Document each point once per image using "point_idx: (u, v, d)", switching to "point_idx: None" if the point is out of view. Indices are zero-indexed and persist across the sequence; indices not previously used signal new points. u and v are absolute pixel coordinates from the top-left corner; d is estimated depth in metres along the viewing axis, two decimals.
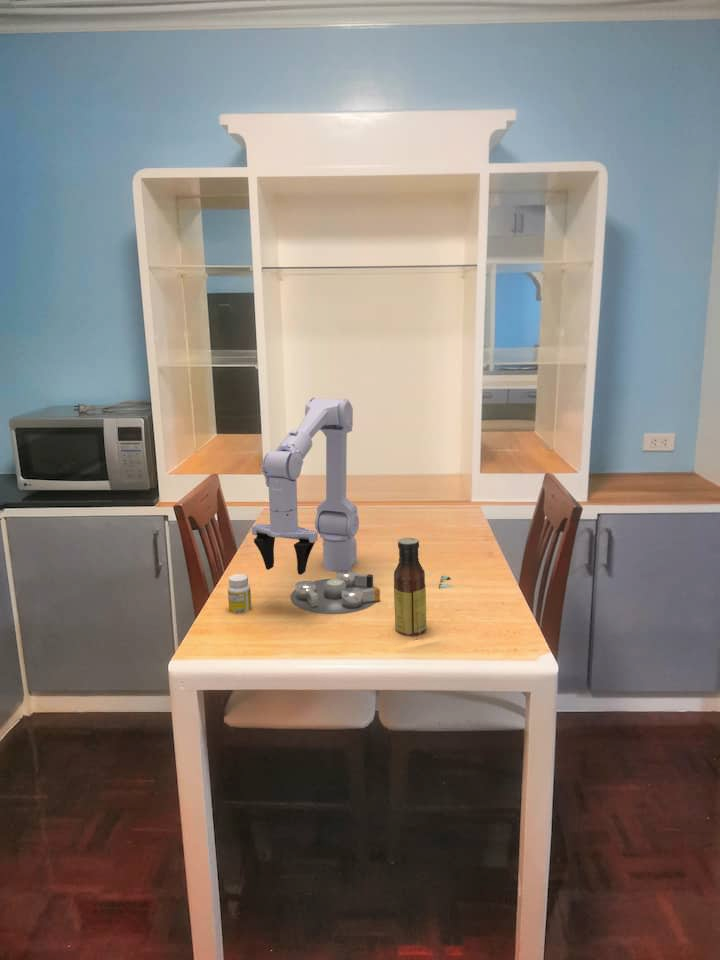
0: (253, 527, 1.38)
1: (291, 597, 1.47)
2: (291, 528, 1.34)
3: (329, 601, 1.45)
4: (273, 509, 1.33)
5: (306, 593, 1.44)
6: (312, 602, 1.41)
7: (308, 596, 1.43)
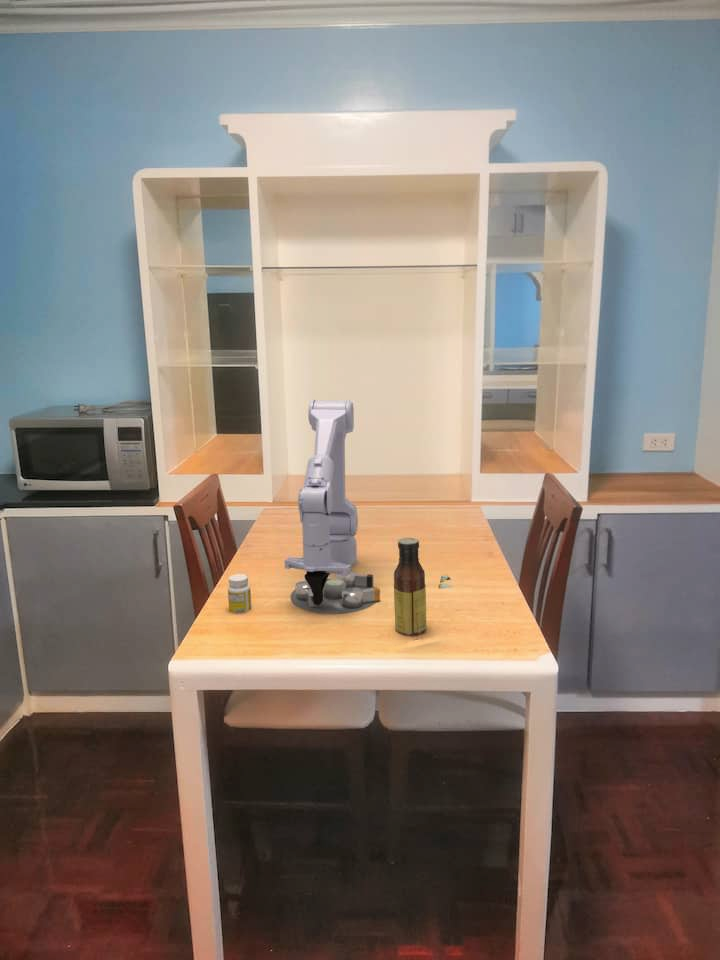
0: (286, 561, 1.41)
1: (291, 597, 1.47)
2: (324, 562, 1.37)
3: (329, 601, 1.45)
4: (309, 544, 1.36)
5: (305, 593, 1.44)
6: (311, 602, 1.41)
7: (307, 596, 1.43)
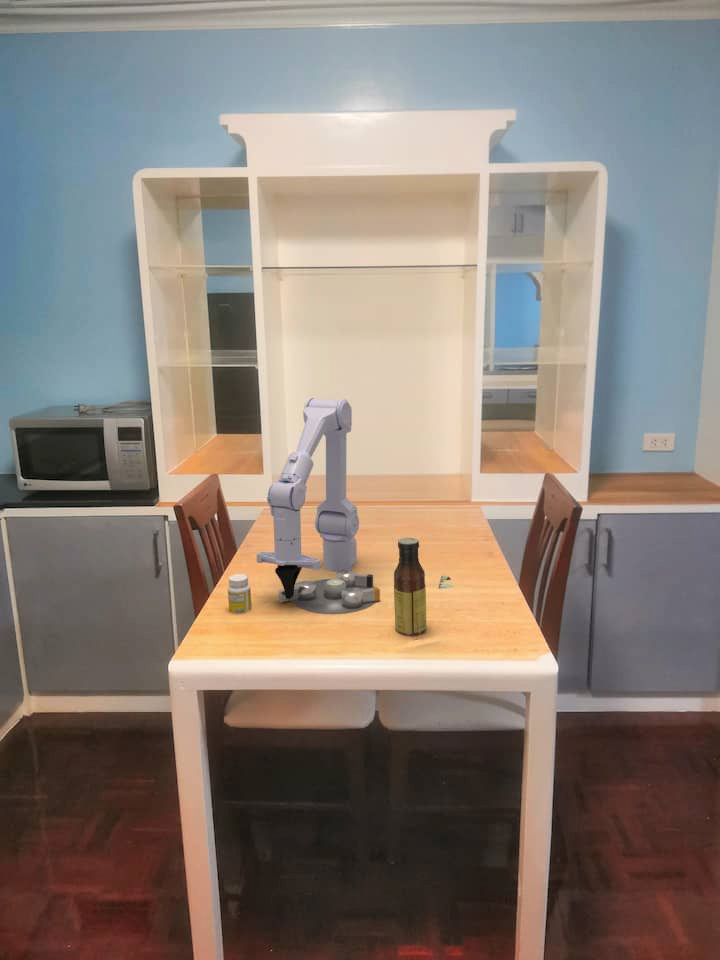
0: (258, 555, 1.43)
1: None
2: (295, 556, 1.39)
3: (329, 601, 1.45)
4: (277, 538, 1.38)
5: None
6: (279, 596, 1.45)
7: None
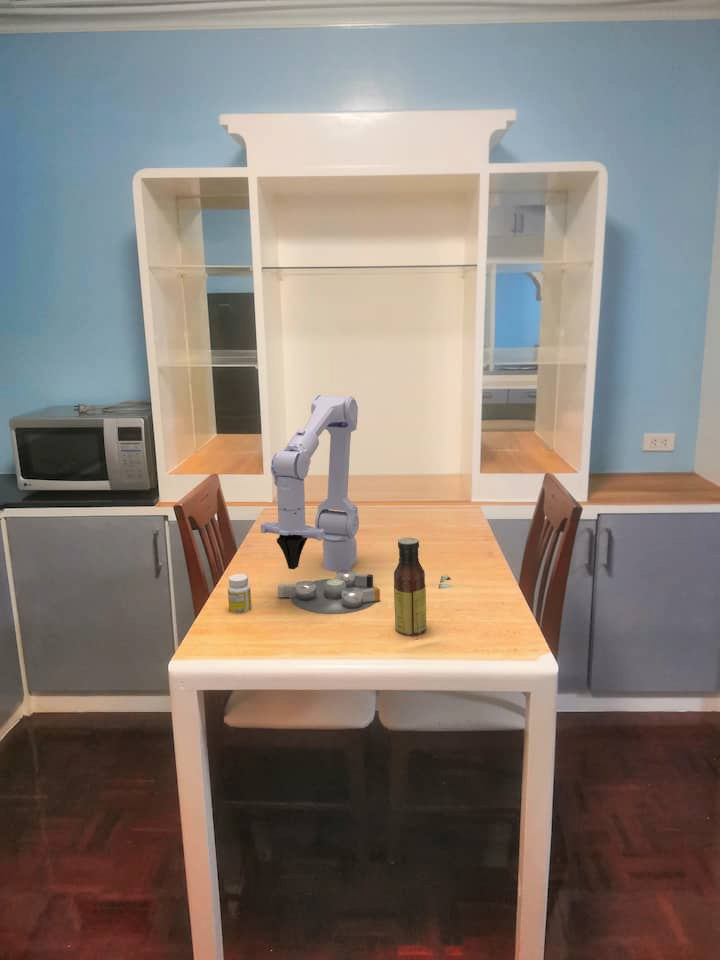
0: (262, 525, 1.42)
1: (291, 597, 1.47)
2: (299, 526, 1.38)
3: (329, 601, 1.45)
4: (281, 508, 1.37)
5: None
6: None
7: None
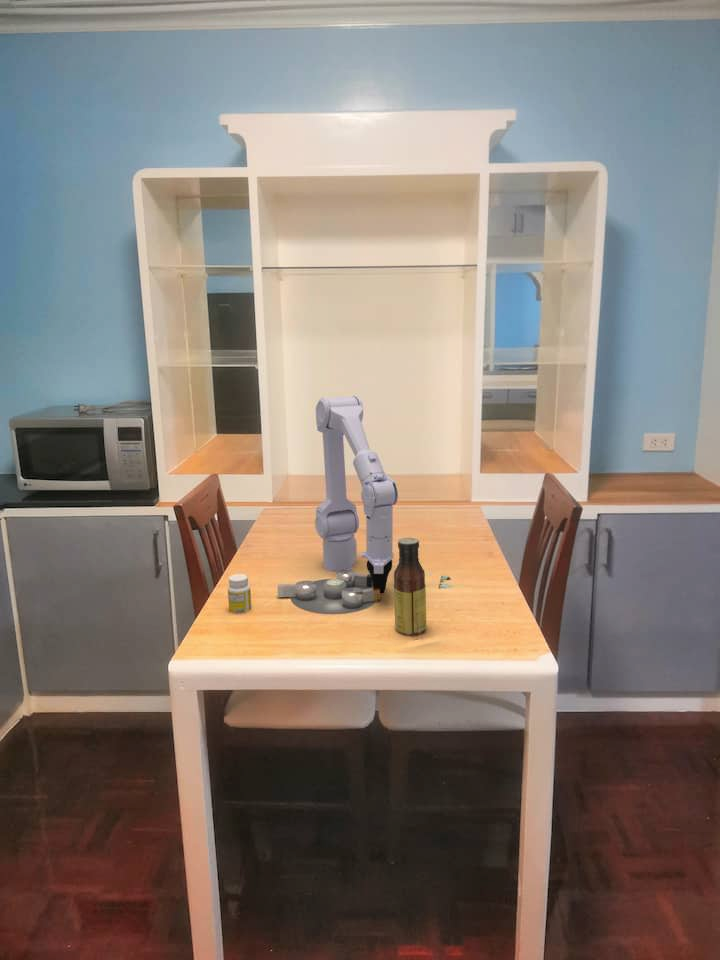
0: None
1: (291, 597, 1.47)
2: (372, 554, 1.42)
3: (329, 601, 1.45)
4: (382, 536, 1.41)
5: None
6: None
7: None
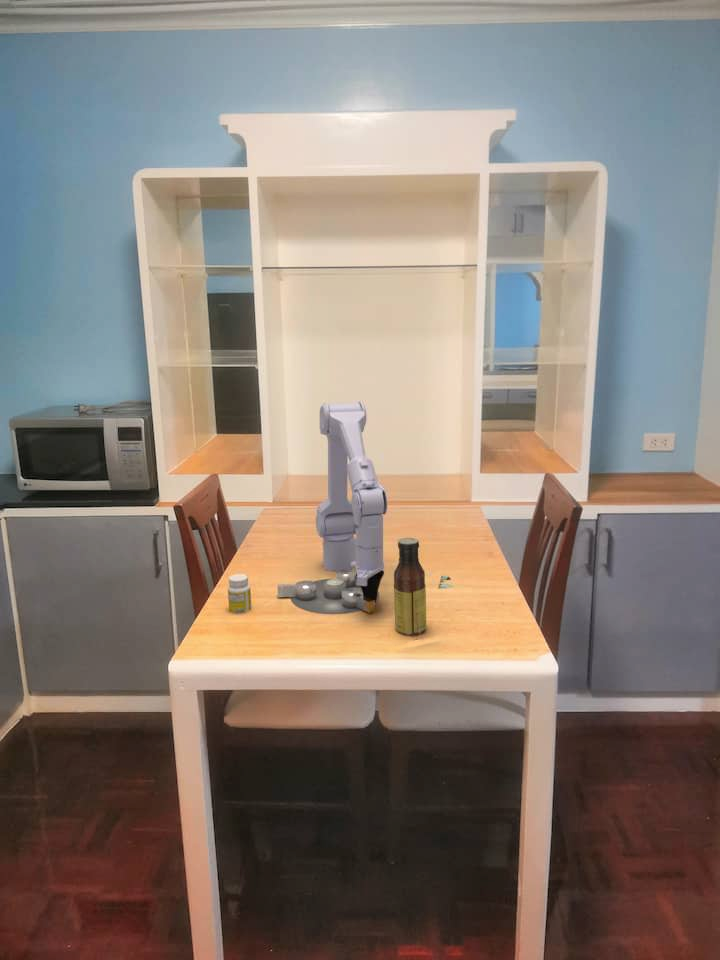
0: None
1: (291, 597, 1.47)
2: (360, 564, 1.36)
3: (329, 601, 1.45)
4: (369, 547, 1.35)
5: None
6: None
7: None
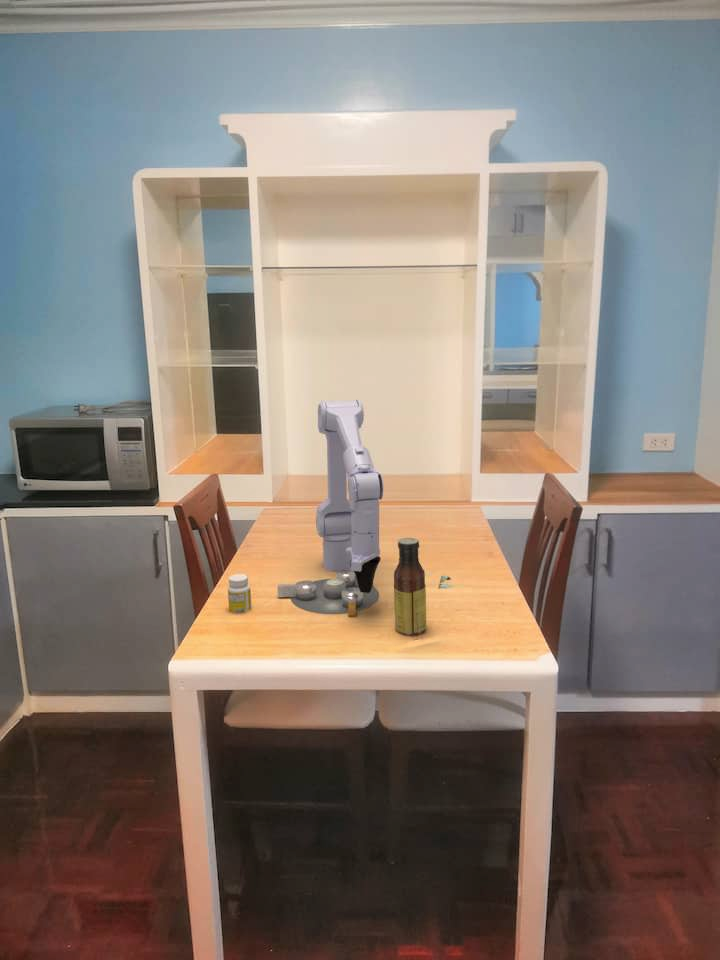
0: None
1: (291, 597, 1.47)
2: (355, 550, 1.34)
3: (329, 601, 1.45)
4: (364, 532, 1.33)
5: None
6: None
7: None
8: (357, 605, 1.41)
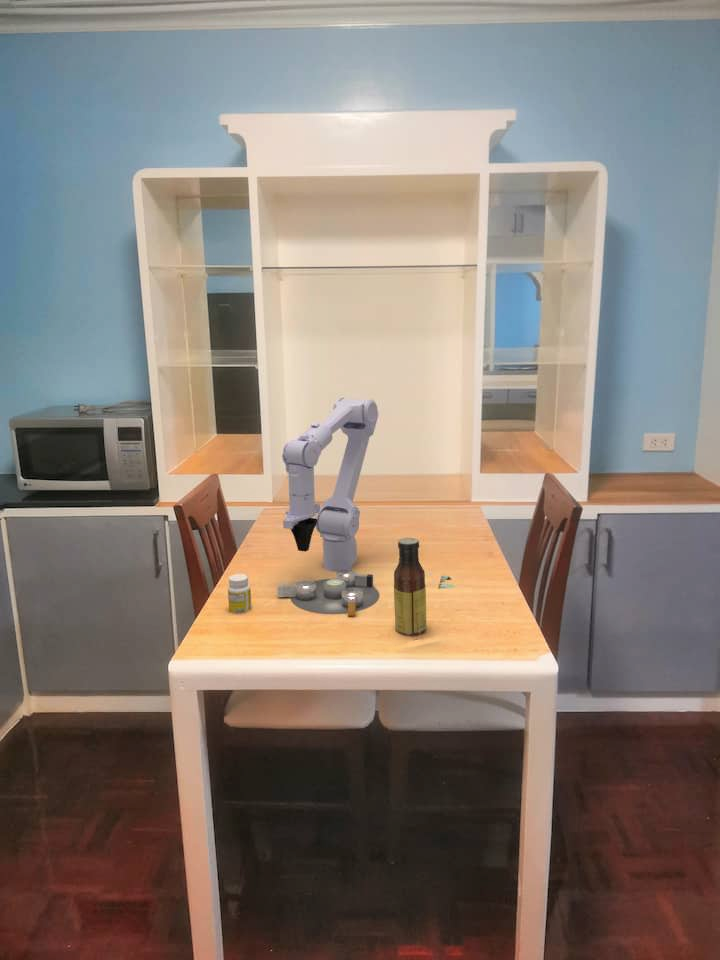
0: None
1: (291, 597, 1.47)
2: (291, 510, 1.48)
3: (329, 601, 1.45)
4: (291, 493, 1.47)
5: None
6: None
7: None
8: (357, 606, 1.41)
